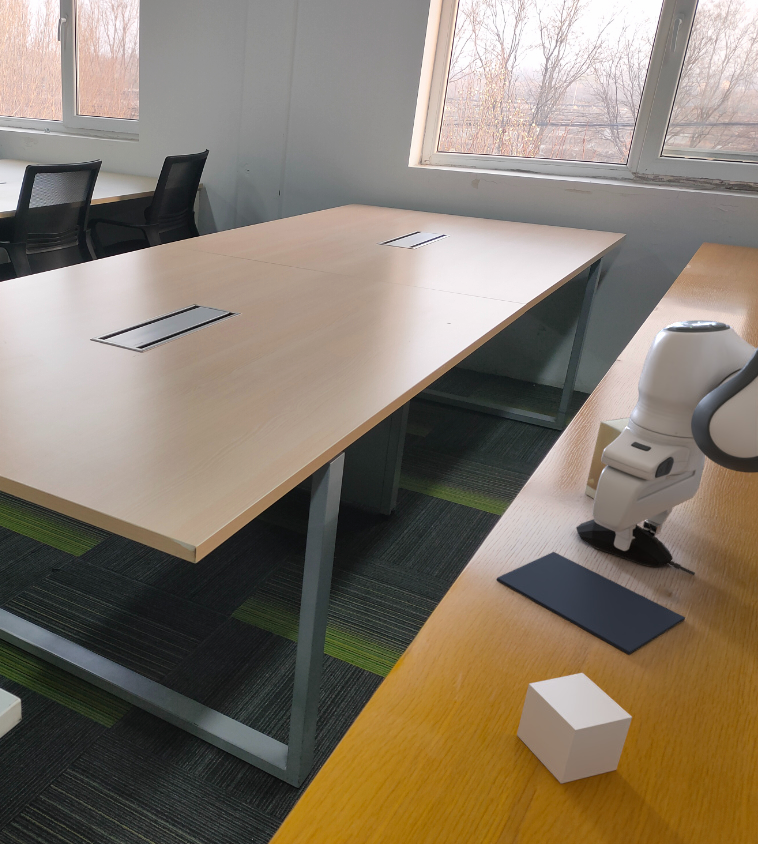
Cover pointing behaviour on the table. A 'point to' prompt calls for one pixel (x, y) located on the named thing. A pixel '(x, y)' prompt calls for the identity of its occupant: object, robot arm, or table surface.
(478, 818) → the table surface
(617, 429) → the cosmetic box
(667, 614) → the mouse pad
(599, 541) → the gaming mouse
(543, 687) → the white cube
